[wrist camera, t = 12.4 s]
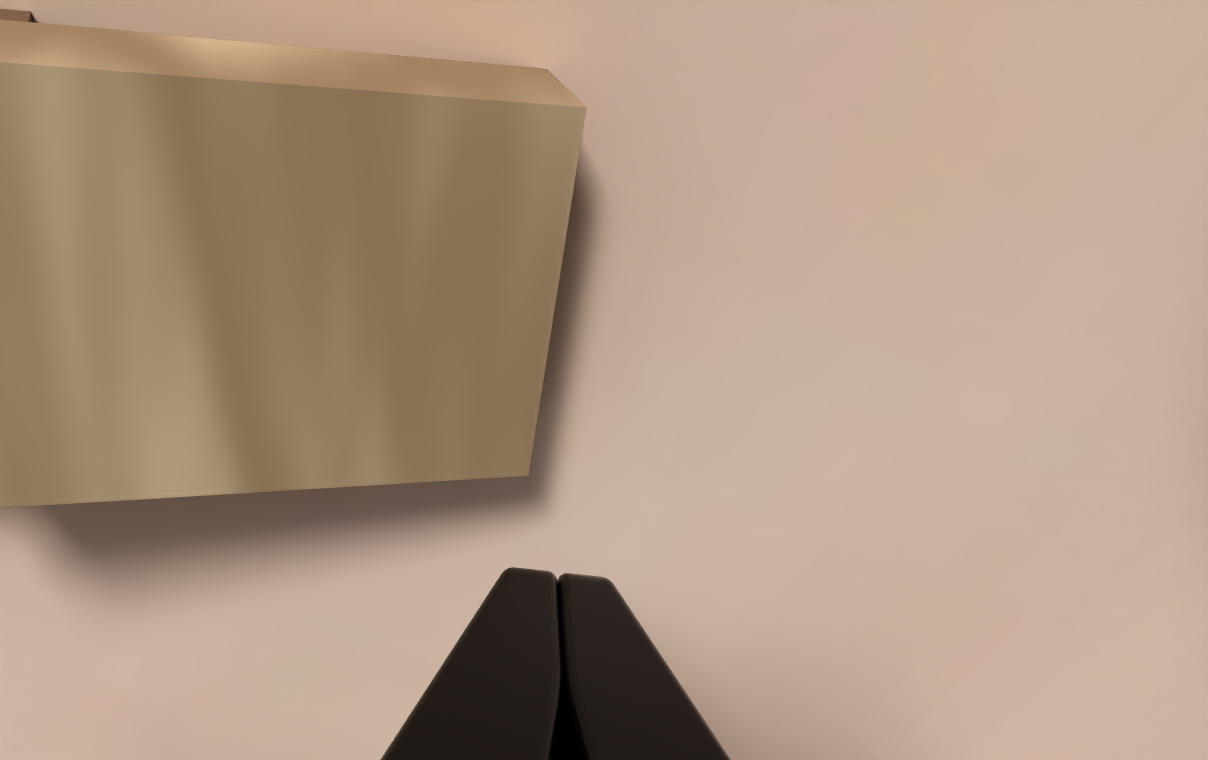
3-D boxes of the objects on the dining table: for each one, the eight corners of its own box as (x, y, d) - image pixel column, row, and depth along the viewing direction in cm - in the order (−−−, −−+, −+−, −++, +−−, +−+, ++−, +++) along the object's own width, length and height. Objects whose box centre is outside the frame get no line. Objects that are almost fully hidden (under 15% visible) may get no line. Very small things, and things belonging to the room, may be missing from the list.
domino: (586, 107, 11) (-330, 36, 8) (528, 475, 14) (-196, 519, 11) (546, 68, 12) (-260, -4, 10) (499, 411, 15) (-155, 436, 12)
